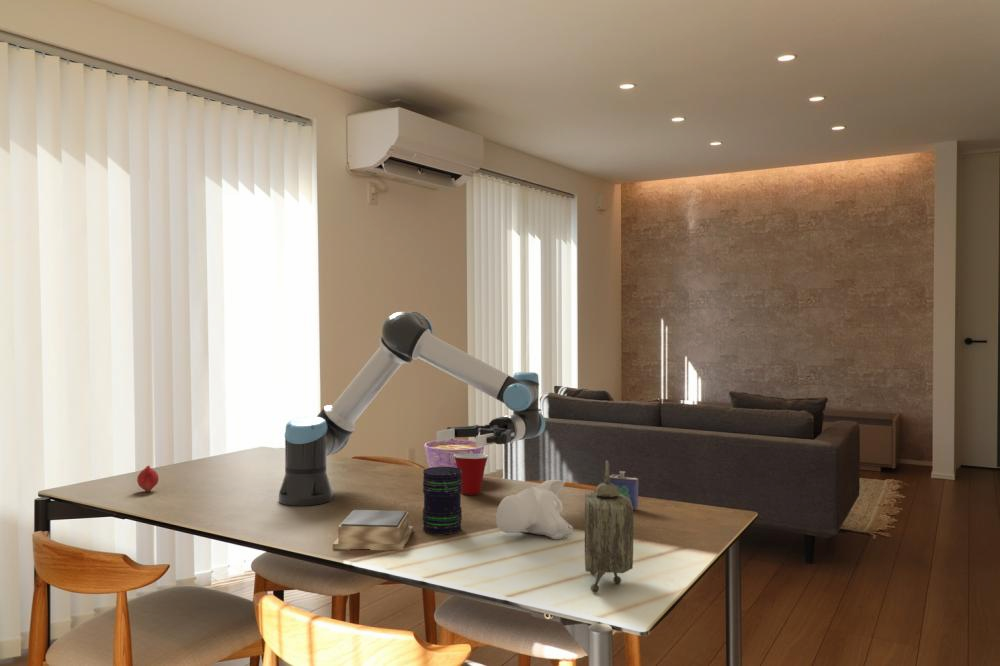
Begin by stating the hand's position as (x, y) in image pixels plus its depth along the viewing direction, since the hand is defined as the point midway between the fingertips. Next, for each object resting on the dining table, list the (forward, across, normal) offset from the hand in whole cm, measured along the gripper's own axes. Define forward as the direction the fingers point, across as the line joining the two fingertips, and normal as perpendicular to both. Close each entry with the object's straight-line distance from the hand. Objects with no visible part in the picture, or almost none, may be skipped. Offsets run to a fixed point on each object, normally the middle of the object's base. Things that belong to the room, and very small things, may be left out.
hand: (456, 439), depth 196 cm
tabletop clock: (+15, -53, -22) cm, 60 cm away
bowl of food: (-39, +35, -22) cm, 57 cm away
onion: (+34, +94, -21) cm, 102 cm away
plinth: (+24, +5, -22) cm, 33 cm away
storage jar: (+7, -2, -22) cm, 23 cm away
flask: (-41, -26, -22) cm, 53 cm away
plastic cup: (-28, +18, -22) cm, 40 cm away
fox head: (-6, -23, -22) cm, 33 cm away
